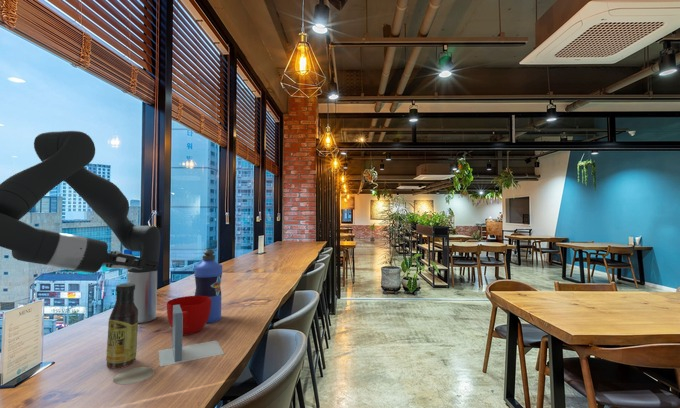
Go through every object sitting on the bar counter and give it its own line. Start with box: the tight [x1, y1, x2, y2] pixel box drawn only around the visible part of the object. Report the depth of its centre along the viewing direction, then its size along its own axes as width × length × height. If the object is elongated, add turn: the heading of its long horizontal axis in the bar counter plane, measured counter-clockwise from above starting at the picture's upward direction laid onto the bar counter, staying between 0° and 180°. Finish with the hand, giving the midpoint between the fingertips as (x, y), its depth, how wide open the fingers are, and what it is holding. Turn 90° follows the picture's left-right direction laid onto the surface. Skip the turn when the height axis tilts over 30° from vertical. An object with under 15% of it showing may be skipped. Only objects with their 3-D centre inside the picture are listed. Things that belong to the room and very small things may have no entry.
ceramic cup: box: [166, 295, 211, 336], centre depth 105 cm, size 13×17×10 cm
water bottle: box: [194, 248, 223, 324], centre depth 120 cm, size 9×9×25 cm
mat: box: [158, 340, 225, 368], centre depth 90 cm, size 15×11×1 cm
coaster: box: [112, 366, 155, 385], centre depth 77 cm, size 8×8×1 cm
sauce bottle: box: [105, 282, 139, 370], centre depth 83 cm, size 6×6×20 cm
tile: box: [171, 305, 183, 362], centre depth 89 cm, size 2×9×12 cm, turn 30°
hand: (150, 266), depth 87 cm, fingers open, 8 cm apart
